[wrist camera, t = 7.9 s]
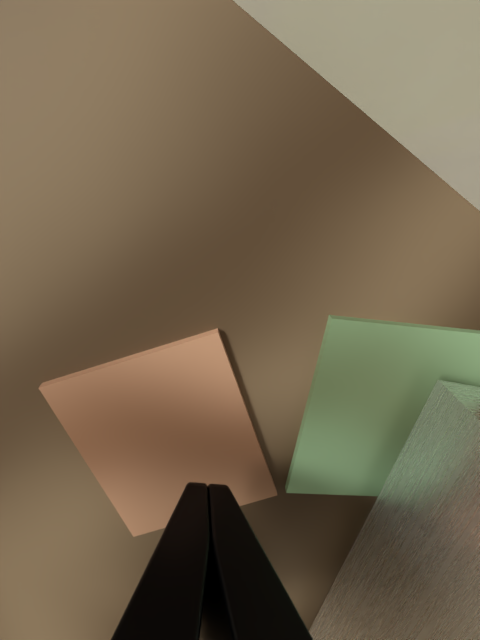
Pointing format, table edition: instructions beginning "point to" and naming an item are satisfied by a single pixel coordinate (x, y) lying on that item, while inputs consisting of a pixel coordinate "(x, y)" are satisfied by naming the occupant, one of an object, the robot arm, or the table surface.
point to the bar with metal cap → (418, 537)
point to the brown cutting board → (203, 300)
